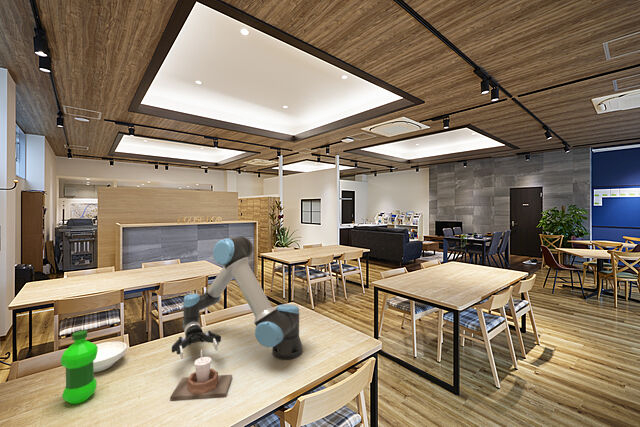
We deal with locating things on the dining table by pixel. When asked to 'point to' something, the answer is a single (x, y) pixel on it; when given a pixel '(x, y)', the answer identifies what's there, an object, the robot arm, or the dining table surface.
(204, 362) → the smoothie
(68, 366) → the plastic bottle
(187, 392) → the brown cup holder
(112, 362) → the bowl
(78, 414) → the dining table surface
